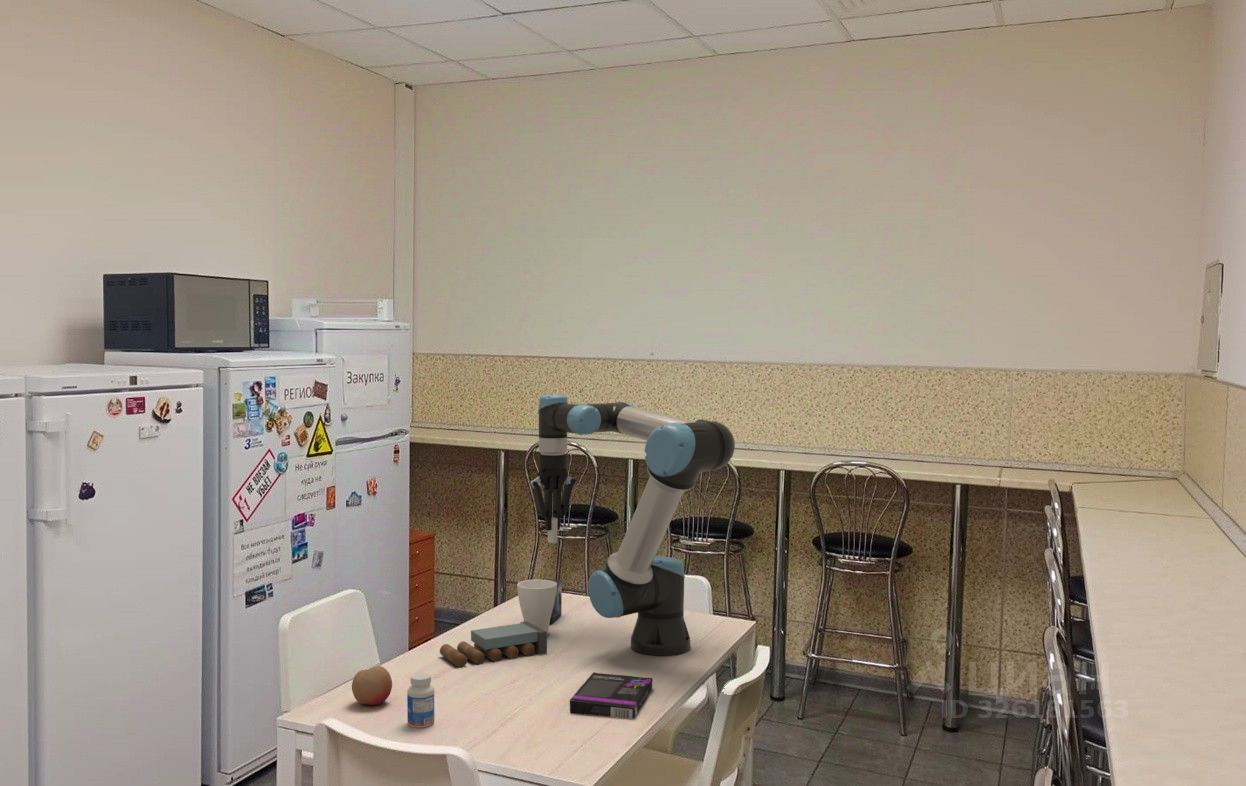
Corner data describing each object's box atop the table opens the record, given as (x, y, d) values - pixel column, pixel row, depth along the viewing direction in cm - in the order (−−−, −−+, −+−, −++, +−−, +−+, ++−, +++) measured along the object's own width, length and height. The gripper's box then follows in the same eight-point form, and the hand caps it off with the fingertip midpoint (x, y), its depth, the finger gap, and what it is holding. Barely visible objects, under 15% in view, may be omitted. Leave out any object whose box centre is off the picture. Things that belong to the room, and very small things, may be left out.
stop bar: (546, 653, 257) (546, 631, 256) (539, 654, 256) (539, 632, 255) (527, 642, 266) (527, 621, 266) (520, 643, 265) (520, 622, 265)
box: (633, 723, 212) (653, 691, 231) (634, 707, 212) (653, 675, 231) (568, 716, 216) (593, 684, 235) (568, 699, 215) (593, 669, 234)
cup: (509, 637, 271) (510, 586, 270) (528, 627, 280) (528, 578, 280) (545, 641, 267) (546, 590, 266) (563, 631, 277) (563, 581, 276)
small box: (552, 625, 283) (553, 587, 282) (529, 624, 284) (530, 586, 284) (562, 615, 293) (563, 578, 293) (540, 614, 294) (540, 577, 294)
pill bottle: (409, 718, 211) (409, 671, 211) (435, 718, 212) (435, 671, 211) (405, 728, 206) (405, 680, 206) (433, 728, 206) (433, 680, 206)
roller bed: (535, 654, 256) (535, 642, 255) (455, 668, 245) (455, 655, 245) (517, 644, 264) (517, 633, 264) (439, 657, 253) (439, 644, 253)
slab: (537, 641, 256) (537, 631, 256) (485, 649, 249) (485, 639, 249) (522, 632, 264) (522, 623, 264) (470, 640, 257) (470, 630, 257)
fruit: (371, 695, 226) (371, 659, 225) (399, 702, 221) (399, 665, 221) (344, 706, 219) (344, 668, 218) (372, 713, 215) (372, 675, 214)
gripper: (568, 450, 279) (567, 537, 280) (524, 453, 272) (524, 542, 274) (581, 453, 273) (580, 542, 274) (537, 456, 266) (536, 547, 267)
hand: (552, 542), depth 274 cm, fingers closed
